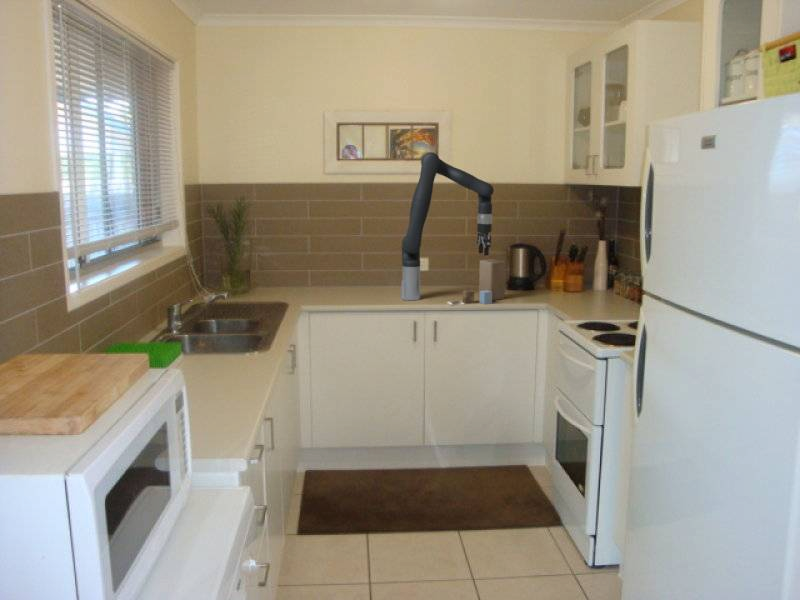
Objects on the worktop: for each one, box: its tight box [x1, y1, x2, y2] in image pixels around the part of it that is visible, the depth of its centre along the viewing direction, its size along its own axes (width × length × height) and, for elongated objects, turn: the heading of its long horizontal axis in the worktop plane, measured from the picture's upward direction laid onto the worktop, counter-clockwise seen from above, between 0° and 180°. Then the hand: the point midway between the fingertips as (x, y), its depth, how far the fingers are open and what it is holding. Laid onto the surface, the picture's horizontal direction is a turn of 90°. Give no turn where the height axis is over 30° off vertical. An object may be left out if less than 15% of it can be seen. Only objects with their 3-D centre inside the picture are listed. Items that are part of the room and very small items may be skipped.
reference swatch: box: [446, 300, 465, 306], centre depth 353 cm, size 7×7×1 cm
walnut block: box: [462, 289, 475, 305], centre depth 355 cm, size 4×4×6 cm
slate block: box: [479, 290, 493, 305], centre depth 353 cm, size 4×4×6 cm
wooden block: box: [478, 258, 507, 301], centre depth 364 cm, size 10×10×20 cm
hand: (483, 254), depth 363 cm, fingers open, 8 cm apart
